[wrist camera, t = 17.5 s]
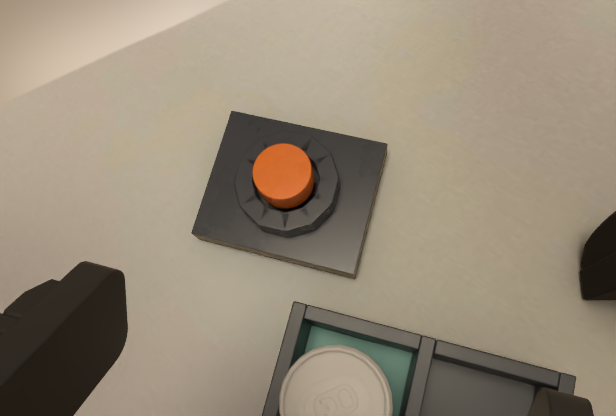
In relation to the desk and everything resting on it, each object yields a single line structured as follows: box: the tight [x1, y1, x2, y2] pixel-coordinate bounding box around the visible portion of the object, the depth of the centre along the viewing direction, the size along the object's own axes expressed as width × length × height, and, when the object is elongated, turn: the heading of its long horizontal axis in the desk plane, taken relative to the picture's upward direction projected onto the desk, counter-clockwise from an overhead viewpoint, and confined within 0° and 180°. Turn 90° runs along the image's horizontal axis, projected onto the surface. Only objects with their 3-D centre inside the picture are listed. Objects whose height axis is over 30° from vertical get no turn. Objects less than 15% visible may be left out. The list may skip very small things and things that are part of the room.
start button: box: [253, 143, 315, 208], centre depth 36 cm, size 4×4×2 cm
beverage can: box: [279, 345, 393, 416], centre depth 30 cm, size 5×5×12 cm
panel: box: [192, 111, 387, 279], centre depth 38 cm, size 11×9×4 cm
